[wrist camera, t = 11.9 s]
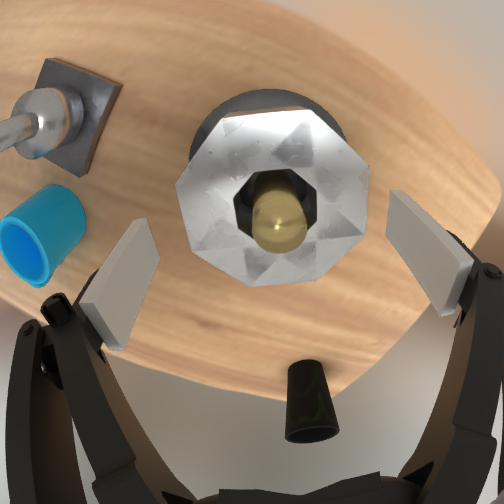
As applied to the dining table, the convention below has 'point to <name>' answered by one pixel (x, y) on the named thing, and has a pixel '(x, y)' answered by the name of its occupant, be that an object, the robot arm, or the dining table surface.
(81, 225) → the mug
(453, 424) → the robot arm
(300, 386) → the cup
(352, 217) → the faceted steel ring
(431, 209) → the dining table surface
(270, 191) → the hub
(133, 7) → the dining table surface
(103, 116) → the stand
